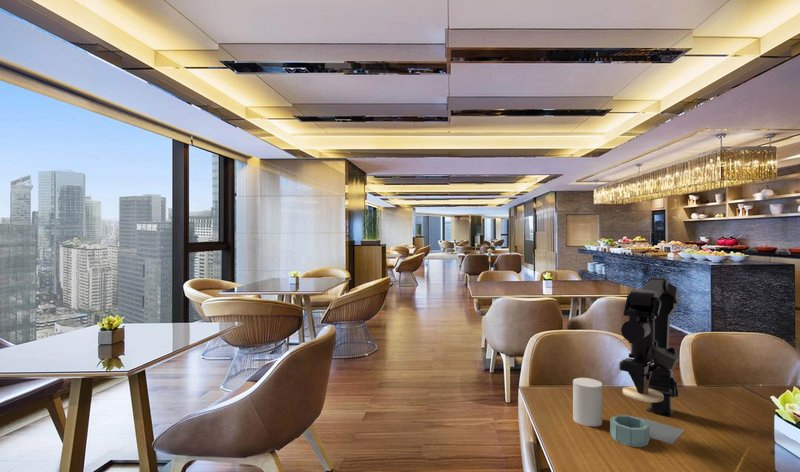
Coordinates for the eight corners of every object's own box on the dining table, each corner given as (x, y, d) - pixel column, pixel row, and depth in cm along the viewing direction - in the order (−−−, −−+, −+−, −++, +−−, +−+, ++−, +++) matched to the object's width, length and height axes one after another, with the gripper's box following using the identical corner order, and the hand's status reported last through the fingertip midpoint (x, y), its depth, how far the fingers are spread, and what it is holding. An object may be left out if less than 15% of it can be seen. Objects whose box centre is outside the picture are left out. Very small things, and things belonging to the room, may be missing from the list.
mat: (639, 418, 132) (639, 417, 132) (684, 431, 124) (684, 430, 124) (624, 430, 124) (624, 429, 124) (672, 445, 115) (672, 444, 115)
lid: (629, 387, 128) (629, 371, 128) (667, 396, 121) (668, 380, 121) (617, 395, 121) (617, 379, 121) (657, 405, 114) (657, 388, 114)
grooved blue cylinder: (618, 429, 125) (618, 412, 125) (653, 440, 118) (653, 422, 118) (606, 439, 119) (606, 421, 119) (641, 451, 112) (641, 432, 112)
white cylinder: (605, 428, 125) (605, 387, 125) (575, 426, 127) (575, 386, 127) (598, 417, 133) (598, 378, 133) (570, 415, 135) (570, 377, 135)
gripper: (665, 347, 109) (665, 408, 108) (684, 336, 122) (684, 391, 121) (618, 339, 117) (618, 397, 117) (641, 330, 130) (641, 381, 129)
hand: (642, 391), depth 121 cm, fingers closed on lid, 3 cm apart
